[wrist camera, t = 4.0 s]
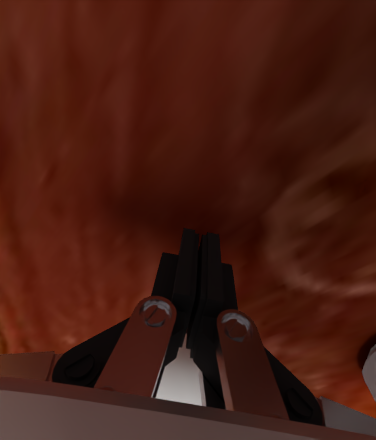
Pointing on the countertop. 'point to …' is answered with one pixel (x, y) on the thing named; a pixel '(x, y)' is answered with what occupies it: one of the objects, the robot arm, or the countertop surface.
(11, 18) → the countertop surface
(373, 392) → the can
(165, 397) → the cue ball
